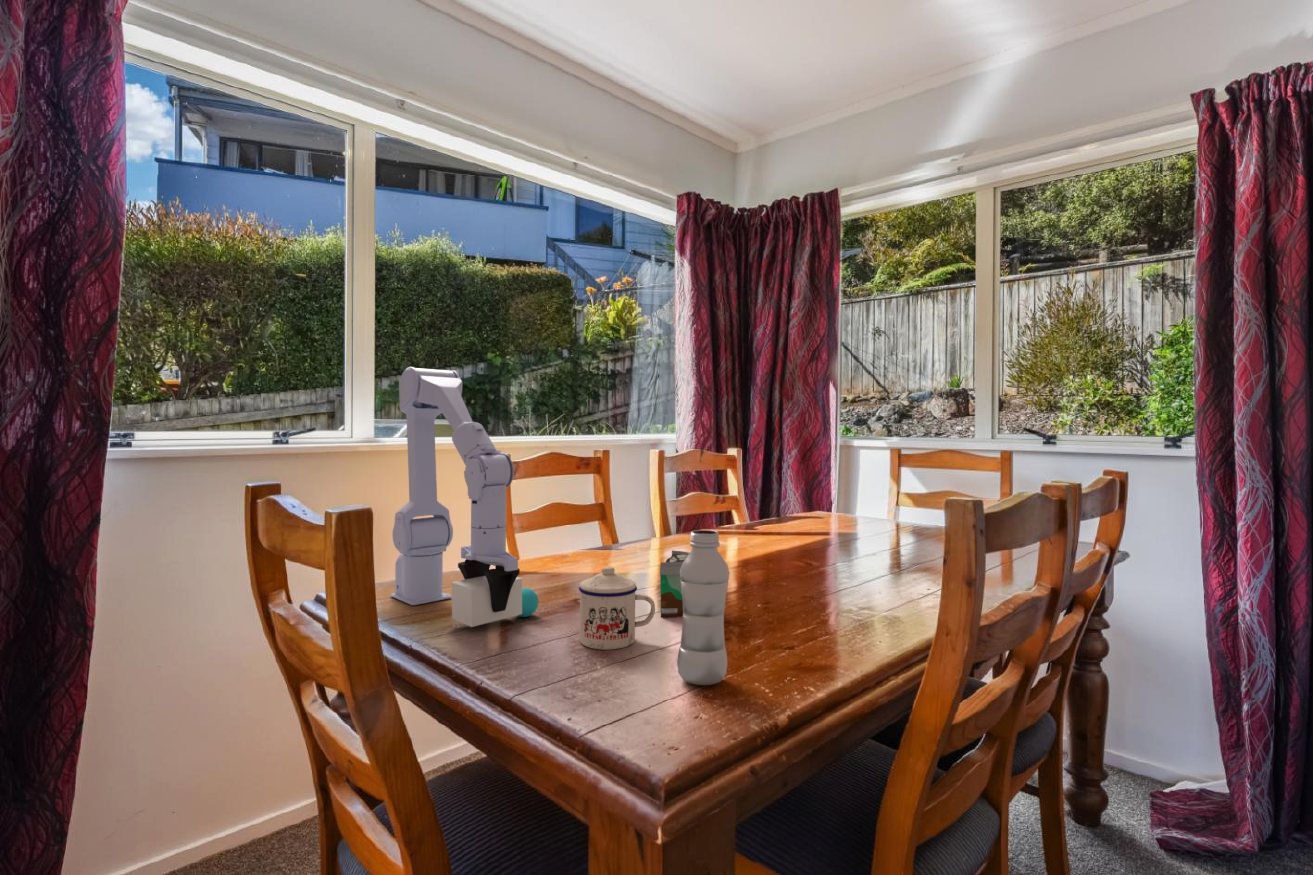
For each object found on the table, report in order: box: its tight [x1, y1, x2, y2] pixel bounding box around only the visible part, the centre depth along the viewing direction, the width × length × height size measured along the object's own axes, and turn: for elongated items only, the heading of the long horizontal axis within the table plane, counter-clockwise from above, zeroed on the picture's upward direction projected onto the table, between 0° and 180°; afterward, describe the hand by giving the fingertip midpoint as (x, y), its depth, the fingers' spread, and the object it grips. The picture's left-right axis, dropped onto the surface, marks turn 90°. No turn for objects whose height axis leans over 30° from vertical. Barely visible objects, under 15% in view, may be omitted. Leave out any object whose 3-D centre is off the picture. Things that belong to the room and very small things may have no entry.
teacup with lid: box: [578, 566, 656, 651], centre depth 104 cm, size 12×9×12 cm
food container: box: [659, 550, 690, 619], centre depth 122 cm, size 12×6×10 cm, turn 168°
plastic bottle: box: [676, 529, 730, 686], centre depth 88 cm, size 6×7×20 cm
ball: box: [517, 587, 539, 618], centre depth 117 cm, size 5×5×5 cm
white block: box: [451, 576, 523, 628], centre depth 112 cm, size 6×10×6 cm, turn 136°
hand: (487, 606), depth 112 cm, fingers closed on white block, 6 cm apart
